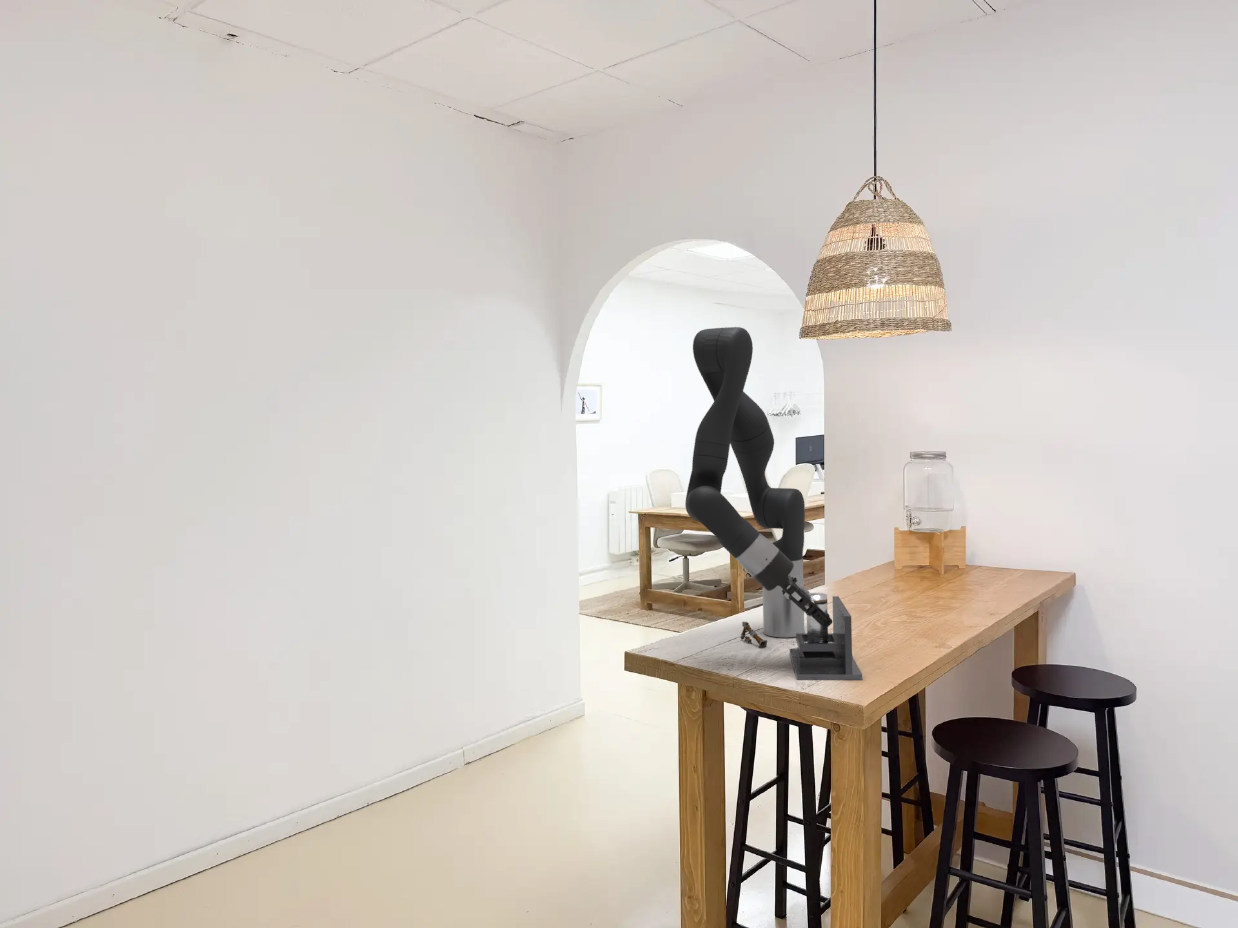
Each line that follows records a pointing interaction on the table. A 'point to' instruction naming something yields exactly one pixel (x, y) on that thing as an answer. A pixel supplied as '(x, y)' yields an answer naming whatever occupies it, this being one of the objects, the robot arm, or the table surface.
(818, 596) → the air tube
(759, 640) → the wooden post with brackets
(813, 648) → the collar stand
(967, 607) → the table surface
